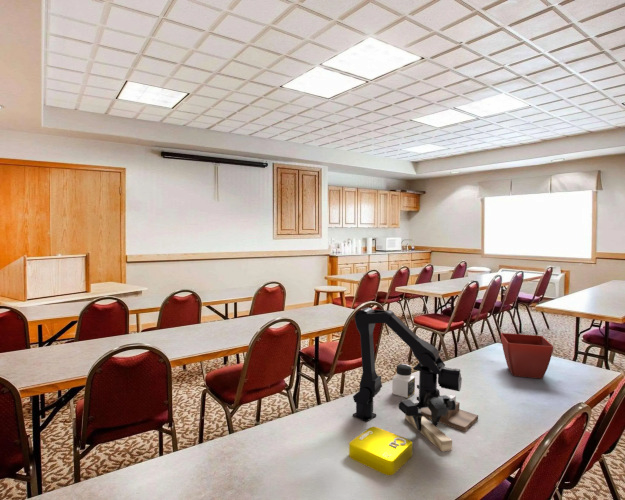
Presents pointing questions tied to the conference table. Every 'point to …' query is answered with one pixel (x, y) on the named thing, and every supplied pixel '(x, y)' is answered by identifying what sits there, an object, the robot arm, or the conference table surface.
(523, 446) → the conference table surface
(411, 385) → the medicine bottle
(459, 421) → the balance stand
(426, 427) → the beech stick
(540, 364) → the plant pot
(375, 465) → the element tile
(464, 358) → the conference table surface
